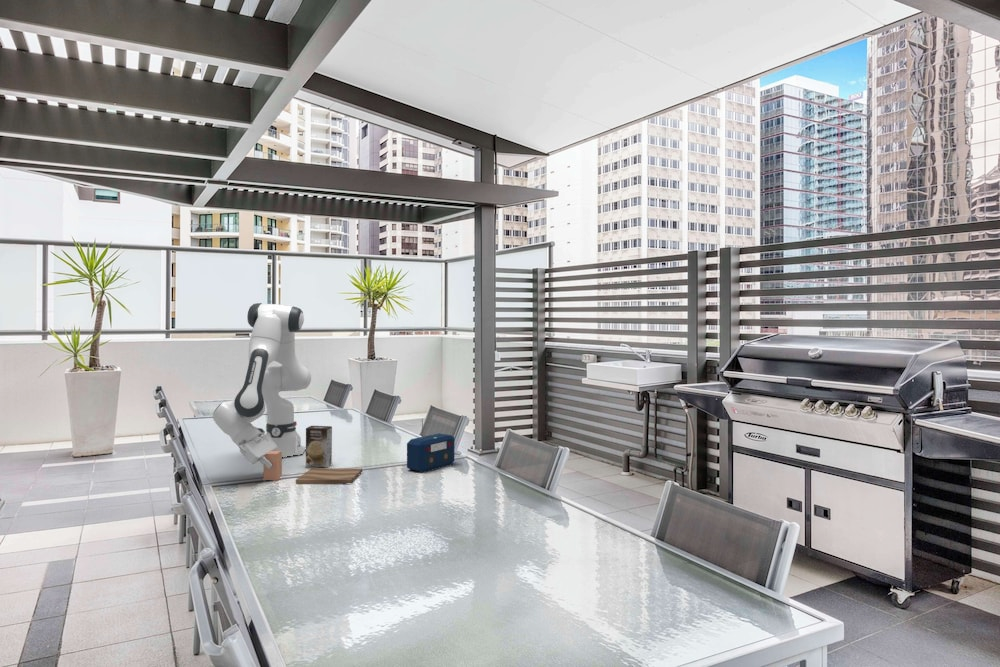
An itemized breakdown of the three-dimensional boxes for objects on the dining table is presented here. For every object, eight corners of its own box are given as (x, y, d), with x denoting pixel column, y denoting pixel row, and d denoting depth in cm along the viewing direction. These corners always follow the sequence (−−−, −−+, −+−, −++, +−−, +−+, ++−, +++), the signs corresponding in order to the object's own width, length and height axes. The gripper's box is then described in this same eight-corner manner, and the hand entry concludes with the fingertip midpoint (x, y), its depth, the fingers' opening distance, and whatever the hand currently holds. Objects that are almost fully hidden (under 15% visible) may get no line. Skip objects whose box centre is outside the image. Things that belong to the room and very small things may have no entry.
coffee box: (304, 467, 257) (304, 427, 257) (311, 464, 264) (310, 425, 263) (326, 468, 256) (326, 428, 256) (332, 464, 263) (332, 425, 262)
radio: (421, 473, 247) (421, 422, 247) (405, 470, 253) (405, 420, 252) (457, 464, 264) (457, 415, 264) (441, 461, 269) (441, 414, 269)
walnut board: (311, 472, 250) (311, 468, 250) (362, 472, 250) (362, 468, 250) (295, 483, 232) (295, 479, 232) (350, 484, 232) (350, 479, 232)
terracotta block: (268, 477, 242) (268, 450, 241) (281, 477, 242) (281, 450, 241) (263, 480, 237) (263, 453, 236) (277, 480, 237) (276, 453, 236)
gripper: (242, 437, 228) (269, 464, 229) (264, 427, 249) (289, 453, 249) (230, 450, 229) (257, 477, 229) (253, 439, 249) (278, 464, 249)
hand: (274, 464), depth 239 cm, fingers closed on terracotta block, 5 cm apart
